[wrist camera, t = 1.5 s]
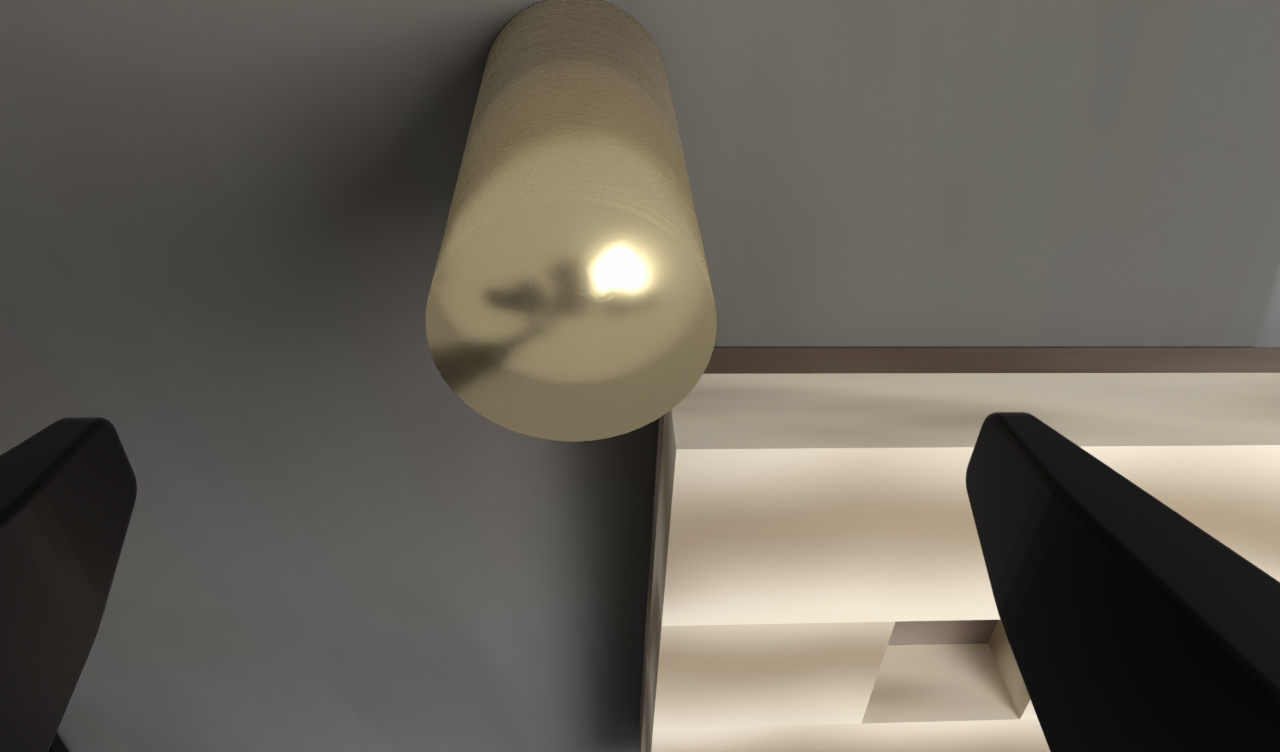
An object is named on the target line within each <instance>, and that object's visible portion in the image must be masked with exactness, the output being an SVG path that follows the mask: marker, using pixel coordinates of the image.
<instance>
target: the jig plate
mask: <svg viewBox="0 0 1280 752" xmlns="http://www.w3.org/2000/svg"><path fill="white" fill-rule="evenodd" d="M994 412H1026V413H1029V414H1031V415H1033V416H1035V417H1036V418H1038V419H1039V420H1041V421H1042V422H1044V423H1045V424H1047V425H1048V426H1050V427H1051V428H1053V429H1054V430H1056V431H1057V432H1059V433H1060V434H1062V435H1063V436H1064V437H1066V438H1067V439H1069V440H1070V441H1072V442H1073V443H1075V444H1076V445H1078V446H1079V447H1081V448H1082V449H1084V450H1085V451H1087V452H1088V453H1090V454H1091V455H1093V456H1094V457H1096V458H1097V459H1098V460H1100V461H1101V462H1103V463H1104V464H1106V465H1107V466H1109V467H1110V468H1112V469H1113V470H1115V471H1116V472H1118V473H1119V474H1121V475H1122V476H1124V477H1125V478H1127V479H1128V480H1130V481H1131V482H1133V483H1134V484H1135V485H1137V486H1138V487H1140V488H1141V489H1143V490H1144V491H1146V492H1147V493H1149V494H1150V495H1152V496H1153V497H1155V498H1156V499H1158V500H1159V501H1161V502H1162V503H1164V504H1165V505H1167V506H1168V507H1169V508H1171V509H1172V510H1174V511H1175V512H1177V513H1178V514H1180V515H1181V516H1183V517H1184V518H1186V519H1187V520H1189V521H1190V522H1192V523H1193V524H1195V525H1196V526H1198V527H1199V528H1201V529H1202V530H1203V531H1205V532H1206V533H1208V534H1209V535H1211V536H1212V537H1214V538H1215V539H1217V540H1218V541H1220V542H1221V543H1223V544H1224V545H1226V546H1227V547H1229V548H1230V549H1232V550H1233V551H1235V552H1236V553H1238V554H1239V555H1240V556H1242V557H1243V558H1245V559H1246V560H1248V561H1249V562H1251V563H1252V564H1254V565H1255V566H1257V567H1258V568H1260V569H1261V570H1263V571H1264V572H1266V573H1267V574H1269V575H1270V576H1272V577H1273V578H1274V579H1276V580H1277V581H1279V582H1280V348H765V347H714V349H713V352H712V355H711V358H710V360H709V363H708V365H707V367H706V369H705V371H704V373H703V375H702V377H701V378H700V380H699V381H698V382H697V384H696V385H695V387H694V388H693V389H692V391H691V392H690V393H689V394H688V395H687V396H686V397H685V398H684V399H683V400H682V401H681V402H680V403H679V404H678V405H676V406H675V407H674V408H673V409H671V410H670V411H669V412H668V413H666V414H664V415H663V416H661V417H660V418H659V430H658V445H657V460H656V475H655V490H654V506H653V521H652V536H651V551H650V567H649V582H648V597H647V612H646V627H645V643H644V658H643V673H642V688H641V704H640V719H639V738H640V752H1050V749H1049V747H1048V744H1047V741H1046V739H1045V736H1044V734H1043V731H1042V728H1041V726H1040V723H1039V720H1038V718H1037V715H1036V713H1035V710H1034V707H1033V705H1032V702H1031V700H1030V697H1029V694H1028V692H1027V689H1026V686H1025V684H1024V681H1023V679H1022V676H1021V673H1020V671H1019V668H1018V665H1017V663H1016V660H1015V658H1014V655H1013V652H1012V650H1011V647H1010V644H1009V642H1008V639H1007V637H1006V634H1005V631H1004V628H1003V625H1002V622H1001V620H1000V617H999V614H998V610H997V607H996V603H995V600H994V596H993V593H992V589H991V585H990V581H989V577H988V573H987V569H986V565H985V561H984V557H983V553H982V549H981V545H980V541H979V537H978V533H977V530H976V526H975V522H974V518H973V514H972V510H971V506H970V502H969V498H968V494H967V489H966V470H967V466H968V463H969V460H970V458H971V455H972V452H973V449H974V446H975V443H976V441H977V438H978V435H979V432H980V429H981V426H982V424H983V422H984V420H985V418H986V417H987V416H988V415H990V414H992V413H994Z"/></svg>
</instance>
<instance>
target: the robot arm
mask: <svg viewBox="0 0 1280 752" xmlns="http://www.w3.org/2000/svg"><path fill="white" fill-rule="evenodd" d="M966 489H967V494H968V498H969V502H970V506H971V510H972V514H973V518H974V522H975V526H976V530H977V533H978V537H979V541H980V545H981V549H982V553H983V557H984V561H985V565H986V569H987V573H988V577H989V581H990V585H991V589H992V593H993V596H994V600H995V603H996V607H997V610H998V614H999V617H1000V620H1001V622H1002V625H1003V628H1004V631H1005V634H1006V637H1007V639H1008V642H1009V644H1010V647H1011V650H1012V652H1013V655H1014V658H1015V660H1016V663H1017V665H1018V668H1019V671H1020V673H1021V676H1022V679H1023V681H1024V684H1025V686H1026V689H1027V692H1028V694H1029V697H1030V700H1031V702H1032V705H1033V707H1034V710H1035V713H1036V715H1037V718H1038V720H1039V723H1040V726H1041V728H1042V731H1043V734H1044V736H1045V739H1046V741H1047V744H1048V747H1049V749H1050V752H1280V582H1279V581H1277V580H1276V579H1274V578H1273V577H1272V576H1270V575H1269V574H1267V573H1266V572H1264V571H1263V570H1261V569H1260V568H1258V567H1257V566H1255V565H1254V564H1252V563H1251V562H1249V561H1248V560H1246V559H1245V558H1243V557H1242V556H1240V555H1239V554H1238V553H1236V552H1235V551H1233V550H1232V549H1230V548H1229V547H1227V546H1226V545H1224V544H1223V543H1221V542H1220V541H1218V540H1217V539H1215V538H1214V537H1212V536H1211V535H1209V534H1208V533H1206V532H1205V531H1203V530H1202V529H1201V528H1199V527H1198V526H1196V525H1195V524H1193V523H1192V522H1190V521H1189V520H1187V519H1186V518H1184V517H1183V516H1181V515H1180V514H1178V513H1177V512H1175V511H1174V510H1172V509H1171V508H1169V507H1168V506H1167V505H1165V504H1164V503H1162V502H1161V501H1159V500H1158V499H1156V498H1155V497H1153V496H1152V495H1150V494H1149V493H1147V492H1146V491H1144V490H1143V489H1141V488H1140V487H1138V486H1137V485H1135V484H1134V483H1133V482H1131V481H1130V480H1128V479H1127V478H1125V477H1124V476H1122V475H1121V474H1119V473H1118V472H1116V471H1115V470H1113V469H1112V468H1110V467H1109V466H1107V465H1106V464H1104V463H1103V462H1101V461H1100V460H1098V459H1097V458H1096V457H1094V456H1093V455H1091V454H1090V453H1088V452H1087V451H1085V450H1084V449H1082V448H1081V447H1079V446H1078V445H1076V444H1075V443H1073V442H1072V441H1070V440H1069V439H1067V438H1066V437H1064V436H1063V435H1062V434H1060V433H1059V432H1057V431H1056V430H1054V429H1053V428H1051V427H1050V426H1048V425H1047V424H1045V423H1044V422H1042V421H1041V420H1039V419H1038V418H1036V417H1035V416H1033V415H1031V414H1029V413H1026V412H994V413H992V414H990V415H988V416H987V417H986V418H985V420H984V422H983V424H982V426H981V429H980V432H979V435H978V438H977V441H976V443H975V446H974V449H973V452H972V455H971V458H970V460H969V463H968V466H967V470H966ZM136 494H137V484H136V478H135V475H134V472H133V470H132V467H131V465H130V462H129V460H128V458H127V455H126V453H125V451H124V448H123V446H122V443H121V441H120V439H119V436H118V434H117V431H116V429H115V428H114V426H113V424H112V423H111V422H110V421H108V420H107V419H104V418H100V417H79V418H63V419H60V420H58V421H56V422H54V423H53V424H51V425H50V426H48V427H46V428H45V429H43V430H41V431H40V432H38V433H37V434H35V435H33V436H32V437H30V438H28V439H27V440H25V441H24V442H22V443H20V444H19V445H17V446H15V447H14V448H12V449H11V450H9V451H7V452H6V453H4V454H2V455H1V456H0V752H68V751H67V750H66V748H65V747H64V745H63V744H62V742H61V741H60V739H59V738H58V736H57V735H56V732H57V729H58V727H59V725H60V722H61V720H62V717H63V715H64V713H65V710H66V708H67V705H68V703H69V701H70V698H71V696H72V693H73V691H74V689H75V686H76V684H77V681H78V679H79V677H80V674H81V672H82V670H83V667H84V665H85V662H86V660H87V658H88V655H89V652H90V650H91V647H92V645H93V642H94V640H95V637H96V634H97V632H98V628H99V625H100V622H101V619H102V616H103V613H104V610H105V606H106V603H107V599H108V596H109V592H110V589H111V585H112V582H113V578H114V574H115V571H116V567H117V564H118V560H119V557H120V553H121V550H122V546H123V543H124V539H125V536H126V532H127V529H128V525H129V522H130V518H131V515H132V511H133V508H134V504H135V500H136Z"/></svg>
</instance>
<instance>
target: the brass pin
mask: <svg viewBox="0 0 1280 752" xmlns="http://www.w3.org/2000/svg"><path fill="white" fill-rule="evenodd" d="M425 319H426V335H427V340H428V344H429V349H430V352H431V354H432V357H433V360H434V362H435V365H436V366H437V368H438V370H439V372H440V373H441V375H442V377H443V379H444V380H445V381H446V383H447V384H448V385H449V386H450V388H451V389H452V390H453V391H454V393H455V394H456V395H457V396H458V397H459V398H460V399H461V400H462V401H463V402H464V403H466V404H467V405H468V406H469V407H471V408H472V409H473V410H474V411H476V412H477V413H479V414H480V415H482V416H483V417H485V418H487V419H488V420H490V421H492V422H494V423H496V424H498V425H500V426H502V427H504V428H506V429H509V430H512V431H515V432H517V433H520V434H523V435H527V436H531V437H535V438H540V439H547V440H554V441H571V442H576V441H592V440H599V439H605V438H610V437H614V436H618V435H622V434H625V433H628V432H631V431H633V430H636V429H639V428H641V427H643V426H645V425H647V424H649V423H651V422H653V421H655V420H657V419H658V418H660V417H661V416H663V415H664V414H666V413H668V412H669V411H670V410H671V409H673V408H674V407H675V406H676V405H678V404H679V403H680V402H681V401H682V400H683V399H684V398H685V397H686V396H687V395H688V394H689V393H690V392H691V391H692V389H693V388H694V387H695V385H696V384H697V382H698V381H699V380H700V378H701V377H702V375H703V373H704V371H705V369H706V367H707V365H708V363H709V360H710V358H711V355H712V352H713V349H714V344H715V339H716V329H717V316H716V308H715V302H714V297H713V292H712V287H711V283H710V278H709V273H708V268H707V264H706V259H705V254H704V249H703V245H702V240H701V235H700V230H699V226H698V221H697V216H696V212H695V207H694V202H693V197H692V193H691V188H690V183H689V178H688V174H687V169H686V164H685V159H684V155H683V150H682V145H681V141H680V136H679V131H678V126H677V122H676V117H675V112H674V107H673V103H672V98H671V93H670V88H669V84H668V79H667V74H666V70H665V66H664V63H663V59H662V57H661V54H660V52H659V50H658V47H657V46H656V44H655V42H654V41H653V39H652V37H651V36H650V35H649V33H648V32H647V31H646V30H645V28H644V27H643V26H642V25H641V24H640V23H639V22H638V21H637V20H636V19H634V18H633V17H632V16H630V15H629V14H628V13H626V12H625V11H623V10H622V9H620V8H618V7H616V6H614V5H612V4H610V3H607V2H604V1H602V0H545V1H542V2H539V3H537V4H535V5H533V6H531V7H529V8H527V9H525V10H524V11H522V12H521V13H519V14H518V15H517V16H515V17H514V18H513V19H512V20H511V21H510V22H509V23H508V24H507V25H506V26H505V27H504V29H503V30H502V31H501V32H500V33H499V35H498V37H497V38H496V40H495V42H494V43H493V45H492V48H491V50H490V52H489V55H488V58H487V61H486V65H485V69H484V73H483V77H482V81H481V85H480V89H479V93H478V97H477V102H476V106H475V110H474V114H473V118H472V122H471V126H470V130H469V134H468V138H467V142H466V146H465V150H464V154H463V158H462V162H461V167H460V171H459V175H458V179H457V183H456V187H455V191H454V195H453V199H452V203H451V207H450V211H449V215H448V219H447V223H446V228H445V232H444V236H443V240H442V244H441V248H440V252H439V256H438V260H437V264H436V268H435V272H434V276H433V280H432V284H431V288H430V293H429V297H428V301H427V308H426V317H425Z"/></svg>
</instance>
